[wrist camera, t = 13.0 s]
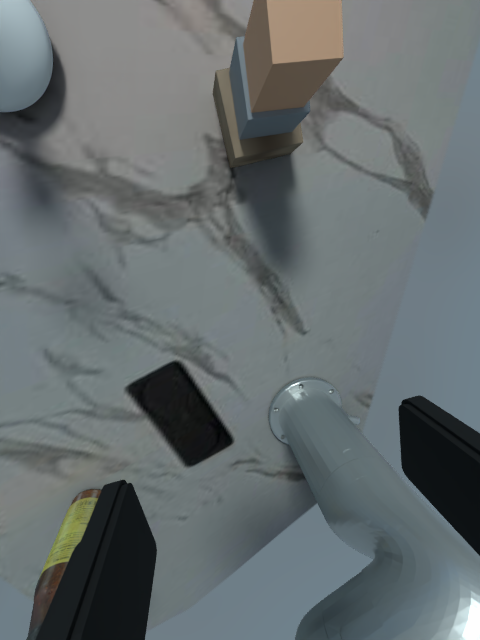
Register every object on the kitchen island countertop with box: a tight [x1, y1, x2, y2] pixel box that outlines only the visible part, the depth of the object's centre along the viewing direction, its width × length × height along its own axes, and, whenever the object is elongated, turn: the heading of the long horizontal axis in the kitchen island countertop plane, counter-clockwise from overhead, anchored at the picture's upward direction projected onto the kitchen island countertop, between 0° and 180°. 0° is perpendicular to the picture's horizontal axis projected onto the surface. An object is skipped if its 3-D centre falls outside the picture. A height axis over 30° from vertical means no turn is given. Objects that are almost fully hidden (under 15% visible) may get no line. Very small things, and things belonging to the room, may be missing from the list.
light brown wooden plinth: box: [213, 68, 303, 168], centre depth 31 cm, size 8×8×4 cm
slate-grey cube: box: [229, 37, 310, 140], centre depth 26 cm, size 6×6×5 cm
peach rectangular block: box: [243, 0, 343, 113], centre depth 21 cm, size 5×5×7 cm
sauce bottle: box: [26, 489, 101, 640], centre depth 34 cm, size 6×6×20 cm
